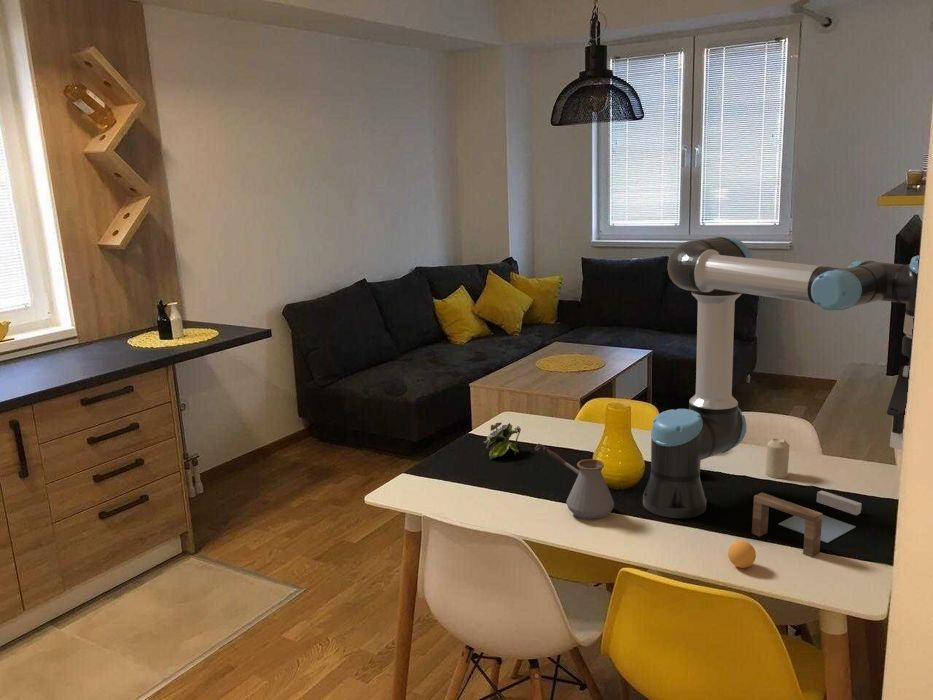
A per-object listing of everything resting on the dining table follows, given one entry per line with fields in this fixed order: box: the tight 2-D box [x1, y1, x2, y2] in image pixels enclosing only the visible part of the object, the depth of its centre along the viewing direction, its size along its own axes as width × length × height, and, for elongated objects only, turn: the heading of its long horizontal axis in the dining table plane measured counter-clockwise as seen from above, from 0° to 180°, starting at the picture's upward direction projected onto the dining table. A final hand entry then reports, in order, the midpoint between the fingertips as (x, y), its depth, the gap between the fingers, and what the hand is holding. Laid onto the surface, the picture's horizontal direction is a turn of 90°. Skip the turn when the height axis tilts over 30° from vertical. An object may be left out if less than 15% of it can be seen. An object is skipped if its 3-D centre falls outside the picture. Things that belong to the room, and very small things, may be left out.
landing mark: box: [777, 514, 856, 544], centre depth 182 cm, size 12×12×1 cm
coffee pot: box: [534, 443, 615, 521], centre depth 193 cm, size 21×12×15 cm, turn 51°
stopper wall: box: [816, 490, 862, 516], centre depth 191 cm, size 10×2×2 cm, turn 37°
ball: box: [727, 540, 757, 569], centre depth 165 cm, size 6×6×6 cm
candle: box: [765, 438, 790, 479], centre depth 210 cm, size 6×6×10 cm
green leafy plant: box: [483, 421, 522, 460], centre depth 232 cm, size 11×11×12 cm
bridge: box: [751, 492, 824, 558], centre depth 173 cm, size 3×14×9 cm, turn 36°
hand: (913, 440), depth 157 cm, fingers open, 13 cm apart
